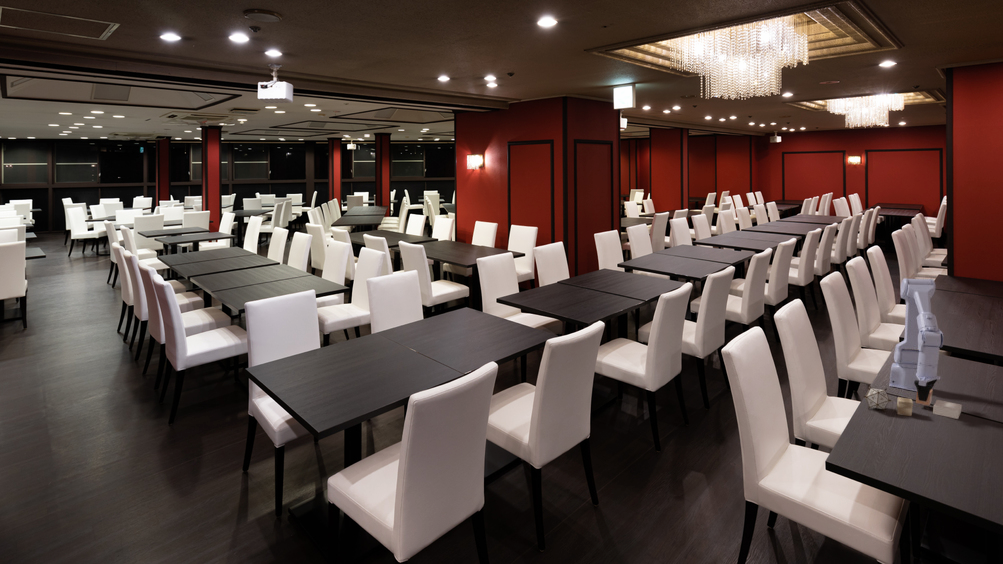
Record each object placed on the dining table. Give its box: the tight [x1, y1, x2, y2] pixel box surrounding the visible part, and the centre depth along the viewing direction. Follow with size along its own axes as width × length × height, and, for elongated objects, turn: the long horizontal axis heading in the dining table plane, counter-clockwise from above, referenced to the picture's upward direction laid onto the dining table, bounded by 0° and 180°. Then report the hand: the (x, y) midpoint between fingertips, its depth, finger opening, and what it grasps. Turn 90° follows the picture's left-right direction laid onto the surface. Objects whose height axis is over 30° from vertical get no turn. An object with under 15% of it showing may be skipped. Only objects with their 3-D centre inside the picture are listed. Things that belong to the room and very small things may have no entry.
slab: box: [932, 399, 963, 420], centre depth 198 cm, size 7×7×3 cm
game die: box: [863, 385, 893, 412], centre depth 203 cm, size 9×8×10 cm
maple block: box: [896, 396, 914, 417], centre depth 199 cm, size 4×4×5 cm
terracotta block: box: [915, 388, 934, 406], centre depth 203 cm, size 4×4×5 cm
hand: (923, 398), depth 203 cm, fingers closed on terracotta block, 4 cm apart
